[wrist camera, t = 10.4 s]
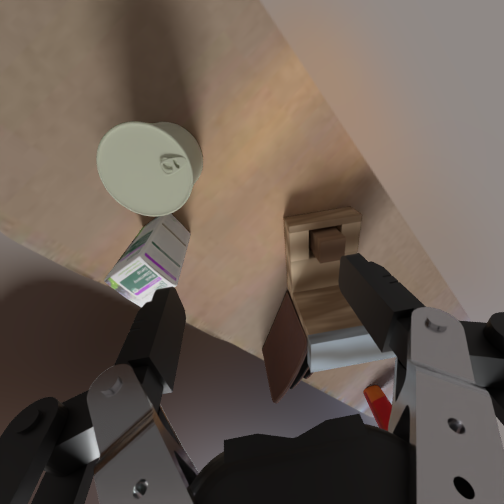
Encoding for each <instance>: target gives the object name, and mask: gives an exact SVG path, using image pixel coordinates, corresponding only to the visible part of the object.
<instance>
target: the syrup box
mask: <svg viewBox="0 0 504 504" xmlns="http://www.w3.org/2000/svg"><path fill="white" fill-rule="evenodd" d="M190 235H191V234H190V233H189V232H188V231H187V229H186V228H185V227H184V226H183V225H182V224H181V223H180V222H179V221H178V220H177V219H176V218H175V217H174V216H173V215H172V214H168V215H164V216H157V217H156V218H155V219H153V220H152V221H151V222H149V223H148V224H147V225H146V226H144V227H143V228H142V229H141V231H140V232H139V233H138V235H137V236H136V237H135V239H134V240H133V241H132V243H131V244H130V245H129V247H128V248H127V250H126V251H125V252H124V253H123V255H122V256H121V258H120V259H119V260H118V262H117V263H116V264H115V266H114V267H113V269H112V270H111V271H110V273H109V274H108V275H107V277H106V278H105V280H104V281H105V282H106V283H107V284H108V285H109V286H111V287H112V288H113V289H115V290H116V291H117V292H119V293H120V294H121V295H123V296H124V297H126V298H127V299H129V300H130V301H132V302H133V303H135V304H137V305H138V306H140V307H141V308H142V307H143V305H144V304H145V303H146V302H151V300H152V298H153V295H154V293H155V291H156V290H157V289H161V288H167V287H172V286H173V287H176V286H177V284H178V280H179V276H180V273H181V269H182V265H183V262H184V258H185V254H186V250H187V246H188V243H189V239H190Z"/></svg>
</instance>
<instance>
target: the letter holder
mask: <svg viewBox="0 0 504 504" xmlns="http://www.w3.org/2000/svg"><path fill="white" fill-rule="evenodd" d="M262 352H263V356H264V362H265V367H266V371H267V377H268V382H269V387H270V392H271V397H272V400H273V402H274V403H278V402H279V401H280V400H281V399H282V397H283V396H284V395H285V394H286V392H287V391H288V389H289V388H290V389H293V388H294V387H295V386H296V385H297V384H298V383H299V382H300V380H301V379H302V378H304V379H307V378H309V377H310V376H311V375H312V373H313V372H312V373H311V372H310V369H309V366H308V339H307V336H306V334H305V331H304V329H303V326H302V323H301V321H300V318H299V316H298V313H297V310H296V308H295V305H294V303H293V300H292V298H291V295H290V292H289V291H287V292H286V295H285V297H284V300H283V302H282V305H281V307H280V309H279V311H278V314H277V316H276V318H275V321H274V323H273V325H272V328H271V330H270V332H269V335H268V337H267V340H266V342H265V344H264V347H263V349H262Z"/></svg>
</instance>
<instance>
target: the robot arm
mask: <svg viewBox="0 0 504 504" xmlns="http://www.w3.org/2000/svg"><path fill="white" fill-rule="evenodd" d="M338 283H339V288H340V291H341V293H342V295H343V296H344V298H345V299H346V300H347V302H348V303H349V305H350V306H351V308H352V309H353V311H354V312H355V314H356V315H357V317H358V318H359V320H360V321H361V323H362V324H363V326H364V327H365V329H366V330H367V332H368V333H369V335H370V336H371V338H372V339H373V341H374V342H375V344H376V345H377V346H378V348H379V349H380V351H381V352H382V353H384V352H389V351H393V352H394V354H395V355H396V356H397V357H396V360H395V372H394V387H393V401H392V410H391V415H390V419H389V425H388V431H386V430H384V429H381V428H378V427H375V426H371V425H367V424H364V423H363V421H362V419H361V416H360V414H356V415H350V416H345V417H340V418H335V419H330V420H326V421H324V422H323V423H321V424H319V425H318V426H315V427H314V428H312V429H310V430H309V431H307V432H305V433H303V434H302V435H300V436H298V437H296V438H286V437H279V436H271V435H264V434H254V435H248V436H243V437H238V438H233V439H228V440H224V452H222V453H220V454H219V455H217V456H216V457H215V458H213V459H212V460H211V461H210V462H209V463H208V464H207V465H206V466H205V467H204V468H203V469H202V470H201V472H200V473H198V471H197V469H196V467H195V466H194V464H193V462H192V461H191V459H190V457H189V456H188V454H187V453H186V451H185V450H184V448H183V446H182V445H181V443H180V441H179V439H178V437H177V435H176V433H175V431H174V429H173V428H172V425H171V424H170V422H169V420H168V418H167V416H166V414H165V413H164V411H163V408H162V407H161V405H160V402H161V397H162V394H165V393H170V392H172V391H173V386H174V381H175V376H176V370H177V365H178V359H179V354H180V349H181V344H182V338H183V332H184V327H185V322H186V315H185V310H184V307H183V305H182V303H181V300H180V298H179V296H178V294H177V291H176V289H175V288H174V287H173V286H172V287H167V288H161V289H157V290H156V291H155V293H154V295H153V298H152V300H151V302H146V303H145V304H144V305H143V307H142V308H141V309H140V310H139V311H138V313H137V315H136V317H135V320H134V323H133V324H132V326H131V329H130V332H129V333H128V335H127V338H126V340H125V342H124V344H123V347H122V349H121V351H120V354H119V356H118V358H117V360H116V363H115V365H114V366H113V367H110V368H109V369H107V370H106V371H104V372H103V373H102V374H101V375H100V376H98V377H97V379H96V380H95V381H94V382H93V384H92V385H91V387H90V389H89V390H88V391H86V392H84V393H82V394H79V395H77V396H75V397H73V398H71V399H69V400H67V401H65V402H63V403H60V402H59V401H58V400H57V399H55V398H53V397H46V398H43V399H40V400H38V401H36V402H34V403H32V404H31V405H29V406H28V407H26V408H25V409H24V410H22V411H21V412H20V413H19V414H18V415H17V416H16V417H15V418H14V419H13V420H12V421H11V423H10V424H9V425H8V426H7V428H6V429H5V431H4V432H3V434H2V435H1V437H0V504H28V502H29V500H30V497H31V495H32V493H33V491H34V489H35V487H36V485H37V483H38V481H39V478H40V476H41V474H42V472H43V470H44V471H46V473H45V475H44V477H43V479H42V481H41V483H40V486H39V488H38V490H37V492H36V494H35V497H34V499H33V501H32V503H31V504H84V503H85V500H86V497H87V494H88V491H89V488H90V485H91V482H92V479H93V476H94V479H95V484H96V489H97V493H98V498H99V503H100V504H504V449H503V445H502V441H501V437H500V433H499V429H498V425H497V421H496V417H497V418H498V419H499V420H500V422H501V423H502V424H503V425H504V312H499V313H495V314H493V315H492V316H491V318H490V319H489V321H488V322H487V323H481V322H468V321H458V320H457V319H456V318H455V317H453V316H452V315H450V314H449V313H447V312H445V311H442V310H440V309H436V308H431V307H426V306H424V305H423V304H422V303H421V302H420V301H419V300H418V299H417V298H416V297H415V296H414V295H413V294H412V293H411V292H409V291H408V290H407V289H406V288H405V287H404V286H403V285H402V284H401V283H400V282H398V280H397V279H396V278H394V277H393V276H391V274H390V273H389V272H388V271H387V270H386V269H385V268H384V267H382V266H380V265H378V264H376V263H374V262H368V261H367V260H366V259H365V258H364V257H363V256H362V255H361V254H359V253H356V254H350V255H345V256H342V257H341V259H340V268H339V280H338ZM99 457H100V460H99ZM98 460H99V461H98Z"/></svg>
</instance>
